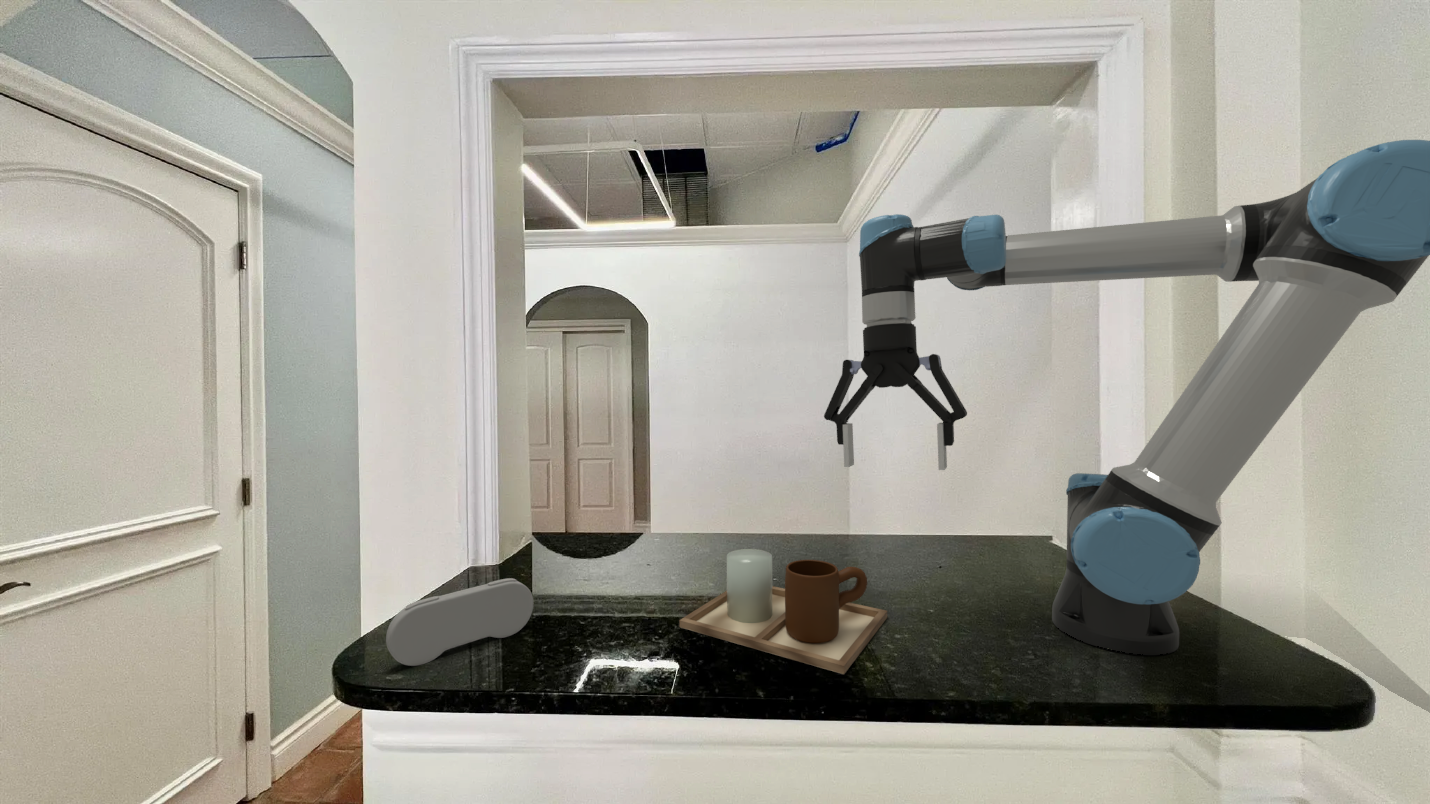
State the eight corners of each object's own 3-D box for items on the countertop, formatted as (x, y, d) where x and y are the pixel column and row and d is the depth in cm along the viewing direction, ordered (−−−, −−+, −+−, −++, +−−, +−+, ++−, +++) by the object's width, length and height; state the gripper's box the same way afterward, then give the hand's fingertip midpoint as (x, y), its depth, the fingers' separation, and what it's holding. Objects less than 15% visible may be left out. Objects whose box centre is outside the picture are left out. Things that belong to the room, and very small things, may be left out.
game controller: (528, 623, 87) (526, 571, 87) (534, 628, 85) (533, 574, 85) (386, 669, 74) (383, 607, 73) (390, 675, 72) (388, 612, 72)
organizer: (887, 625, 85) (887, 610, 85) (844, 683, 69) (844, 666, 69) (743, 592, 98) (743, 579, 98) (679, 634, 82) (679, 620, 82)
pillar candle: (780, 610, 88) (779, 553, 87) (759, 627, 82) (758, 566, 82) (741, 600, 92) (741, 546, 91) (718, 616, 86) (718, 558, 85)
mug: (856, 617, 85) (856, 556, 84) (877, 640, 77) (878, 573, 77) (779, 622, 83) (779, 560, 83) (793, 647, 76) (793, 578, 75)
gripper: (983, 318, 80) (988, 466, 81) (816, 333, 93) (822, 461, 93) (979, 313, 74) (984, 474, 74) (800, 330, 86) (806, 468, 87)
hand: (894, 467), depth 84 cm, fingers open, 13 cm apart
